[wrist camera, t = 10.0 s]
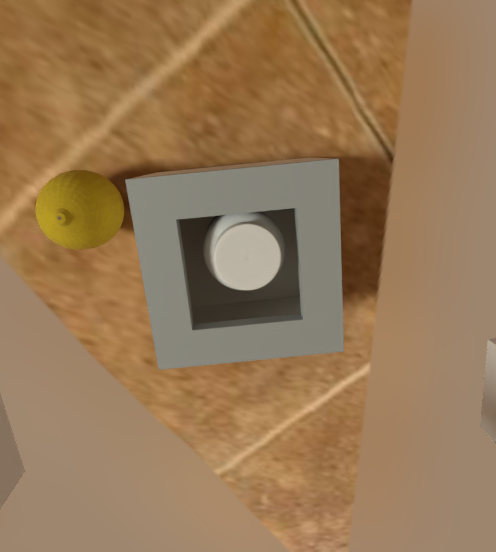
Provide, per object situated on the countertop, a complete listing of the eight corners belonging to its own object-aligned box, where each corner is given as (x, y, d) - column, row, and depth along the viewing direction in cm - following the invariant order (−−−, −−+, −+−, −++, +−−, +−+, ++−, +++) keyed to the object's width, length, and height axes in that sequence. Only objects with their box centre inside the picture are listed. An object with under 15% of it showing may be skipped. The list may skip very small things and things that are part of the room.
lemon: (138, 175, 32) (108, 182, 24) (131, 242, 34) (100, 268, 26) (68, 162, 32) (14, 164, 24) (64, 230, 33) (12, 253, 26)
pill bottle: (282, 252, 33) (308, 277, 24) (224, 281, 34) (228, 317, 24) (253, 192, 32) (269, 194, 23) (194, 223, 32) (185, 237, 23)
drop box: (158, 172, 32) (125, 179, 22) (307, 157, 32) (338, 158, 22) (179, 311, 36) (158, 369, 26) (314, 298, 36) (344, 351, 26)
